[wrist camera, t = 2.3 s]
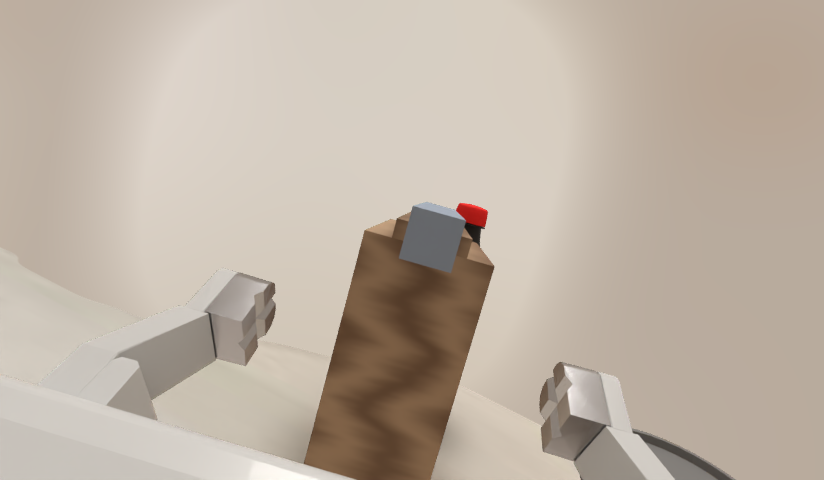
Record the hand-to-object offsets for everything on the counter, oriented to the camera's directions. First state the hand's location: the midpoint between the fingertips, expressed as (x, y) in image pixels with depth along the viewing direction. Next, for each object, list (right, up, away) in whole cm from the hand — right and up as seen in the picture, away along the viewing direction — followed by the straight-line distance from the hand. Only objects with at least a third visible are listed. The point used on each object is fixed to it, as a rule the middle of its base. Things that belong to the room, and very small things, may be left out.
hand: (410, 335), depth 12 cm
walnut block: (-5, -22, +30) cm, 38 cm away
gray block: (+1, +2, +21) cm, 21 cm away
